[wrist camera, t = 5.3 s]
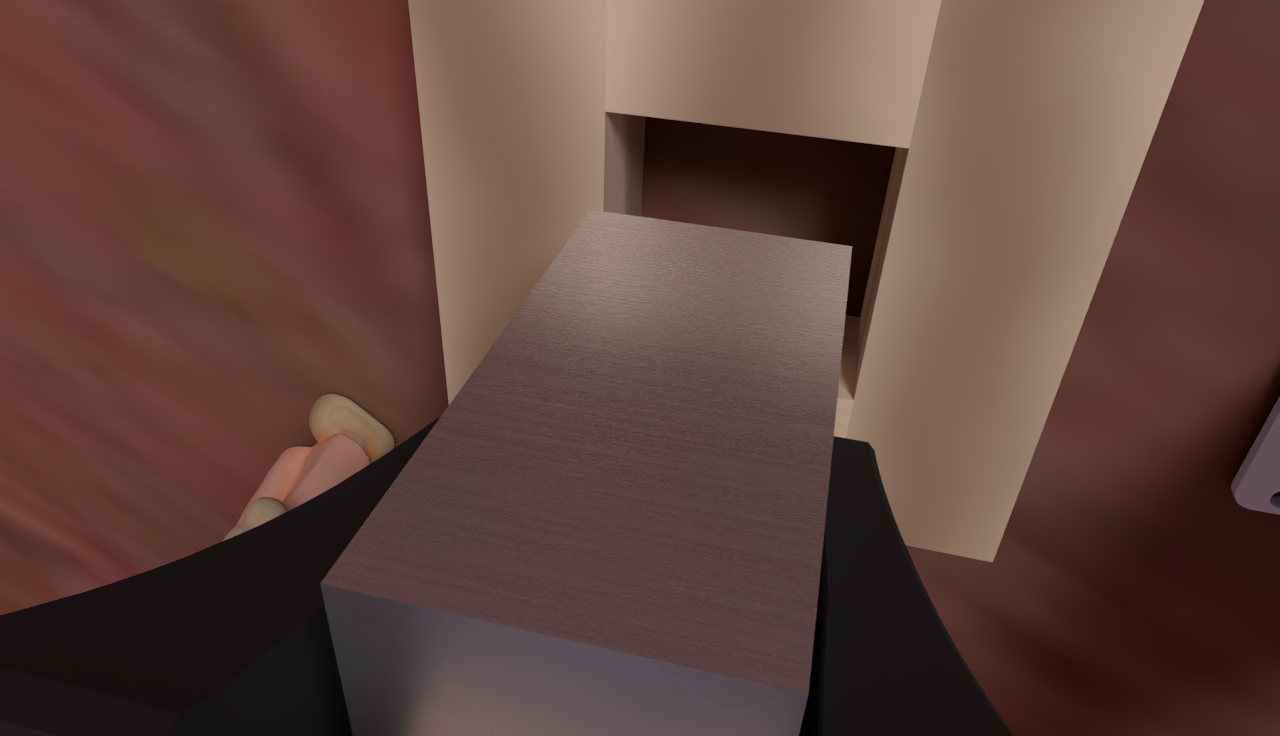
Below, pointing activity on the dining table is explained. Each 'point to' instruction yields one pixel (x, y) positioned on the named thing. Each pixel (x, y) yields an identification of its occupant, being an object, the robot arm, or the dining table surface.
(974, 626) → the dining table surface
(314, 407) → the grandmother figurine
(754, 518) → the steel peg
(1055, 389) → the maple hole block
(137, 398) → the dining table surface
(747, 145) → the dining table surface
